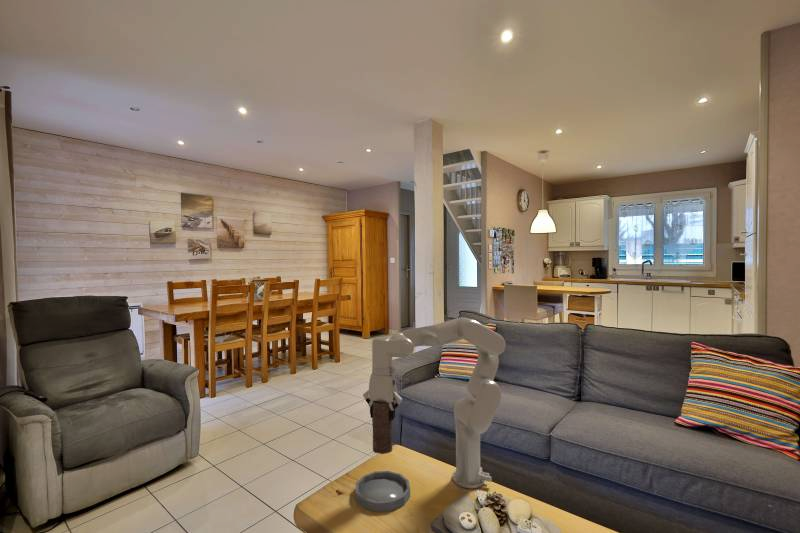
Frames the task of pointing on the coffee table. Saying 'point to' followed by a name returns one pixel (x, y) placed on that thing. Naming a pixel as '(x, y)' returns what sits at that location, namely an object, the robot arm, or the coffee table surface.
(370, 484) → the round tray
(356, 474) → the coffee table surface
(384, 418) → the mottled brown cylinder
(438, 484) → the coffee table surface
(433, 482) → the coffee table surface
